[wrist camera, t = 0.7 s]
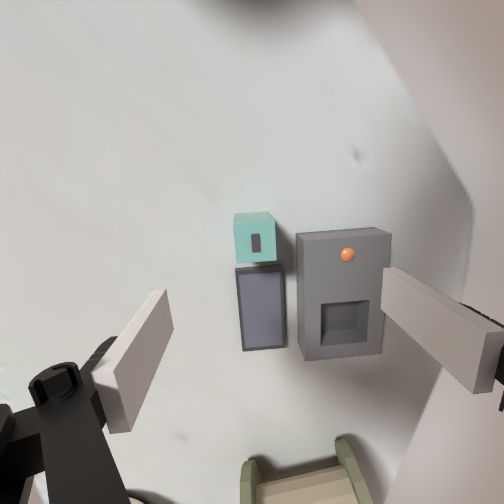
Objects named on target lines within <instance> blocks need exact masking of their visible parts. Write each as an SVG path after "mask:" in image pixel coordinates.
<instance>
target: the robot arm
mask: <svg viewBox="0 0 504 504" xmlns="http://www.w3.org/2000/svg"><path fill="white" fill-rule="evenodd" d="M380 309H381V310H383V311H384V312H385V313H386V314H387V315H388V316H389V317H390V318H391V319H392V320H393V321H394V322H395V323H397V324H398V325H399V326H400V327H401V328H402V329H403V330H404V331H405V332H406V333H407V334H408V335H409V336H411V337H412V338H413V339H414V340H415V341H416V342H417V343H418V344H419V345H420V346H421V347H422V348H424V349H425V350H426V351H427V352H428V353H429V354H430V355H431V356H432V357H433V358H434V359H435V360H436V361H438V362H439V363H440V364H441V365H442V366H443V367H444V368H445V369H446V370H447V371H448V372H449V373H451V374H452V375H453V376H454V377H455V378H456V379H457V380H458V381H459V382H460V383H461V384H462V385H464V386H465V387H466V388H467V389H468V390H469V391H470V392H471V393H472V394H479V393H487V392H492V390H493V385H494V381H495V379H496V380H498V381H499V382H500V383H501V384H503V385H504V325H502V324H500V323H499V322H497V321H495V320H493V319H490V318H489V317H488V316H486V315H484V314H481V312H479V311H477V310H475V309H474V308H472V307H470V306H467V305H464V304H462V303H459V302H456V301H454V300H453V299H451V298H449V297H447V296H446V295H444V294H442V293H440V292H439V291H437V290H435V289H434V288H432V287H430V286H428V285H427V284H425V283H423V282H421V281H420V280H418V279H416V278H414V277H413V276H411V275H409V274H407V273H406V272H404V271H402V270H400V269H399V268H397V267H390V268H384V269H383V282H382V295H381V308H380ZM173 330H174V328H173V322H172V317H171V312H170V307H169V302H168V297H167V291H166V289H157V290H152V292H151V293H150V294H149V296H148V297H147V298H146V300H145V301H144V302H143V304H142V305H141V306H140V308H139V309H138V310H137V312H136V313H135V315H134V316H133V317H132V319H131V320H130V321H129V323H128V324H127V325H126V327H125V328H124V329H123V331H122V332H121V333H120V335H119V336H114V337H110V338H109V339H107V340H106V341H105V342H103V343H102V344H101V345H100V346H99V347H98V348H97V350H96V351H95V352H94V354H93V355H92V356H91V357H90V358H89V360H88V361H87V362H86V363H85V364H84V366H83V367H82V368H81V369H80V370H79V369H78V366H77V365H76V364H75V363H74V362H64V363H59V364H57V365H54V366H51V367H49V368H47V369H45V370H44V371H42V372H41V373H39V374H38V375H37V376H35V377H34V378H33V379H32V381H31V382H30V383H29V387H28V389H29V391H30V393H31V396H32V398H33V401H34V403H35V405H36V406H34V407H31V408H28V409H25V410H22V411H19V412H16V413H12V410H11V408H10V406H8V405H7V404H0V504H28V500H29V496H30V492H31V487H32V483H33V479H34V475H36V474H38V473H41V472H43V471H45V474H46V482H47V489H48V497H49V504H131V502H130V499H129V497H128V494H127V492H126V489H125V487H124V484H123V482H122V479H121V477H120V474H119V472H118V469H117V467H116V464H115V462H114V459H113V457H112V454H111V452H110V449H109V447H108V444H107V442H106V439H105V436H104V434H103V431H102V429H103V427H104V425H105V423H107V426H108V430H109V433H110V434H114V433H123V432H131V430H132V427H133V425H134V423H135V420H136V418H137V415H138V413H139V411H140V408H141V406H142V404H143V401H144V399H145V396H146V394H147V392H148V389H149V387H150V385H151V382H152V380H153V377H154V375H155V373H156V370H157V368H158V365H159V363H160V361H161V358H162V356H163V354H164V351H165V349H166V346H167V344H168V342H169V339H170V337H171V334H172V332H173ZM503 409H504V391H503V396H502V399H501V403H500V407H499V411H502V412H503Z"/></svg>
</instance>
